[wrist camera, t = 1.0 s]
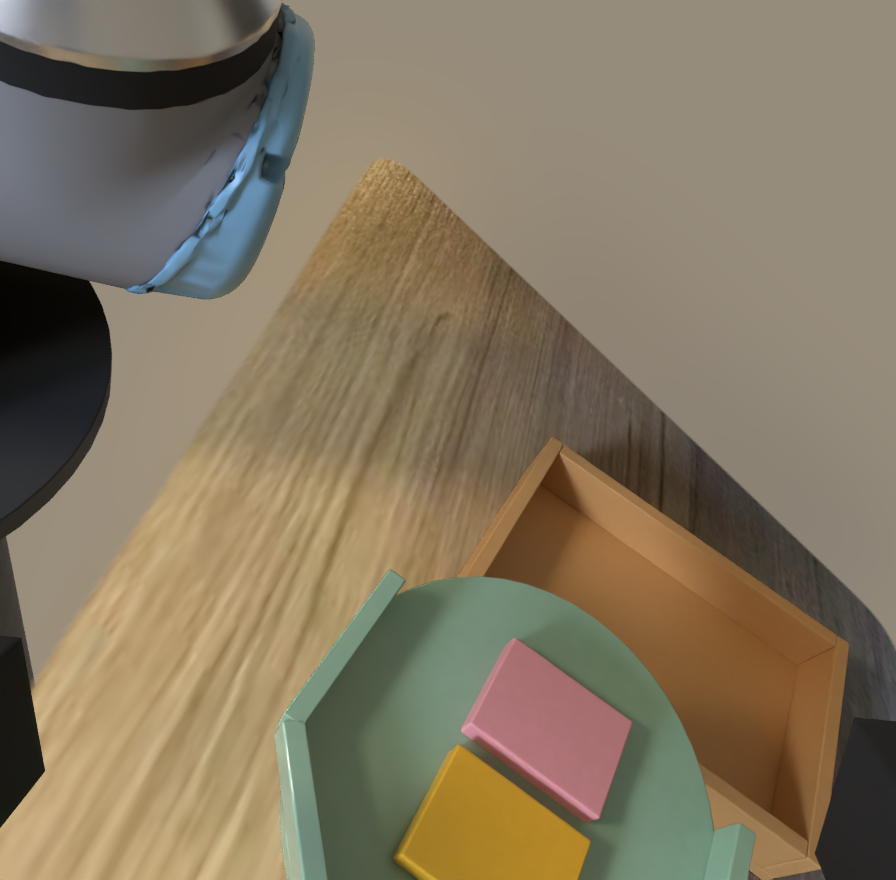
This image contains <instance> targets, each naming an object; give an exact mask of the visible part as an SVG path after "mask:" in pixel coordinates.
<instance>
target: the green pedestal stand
mask: <svg viewBox="0 0 896 880" xmlns="http://www.w3.org/2000/svg"><path fill="white" fill-rule="evenodd" d="M404 583H405V579H404V578H402V577H401V576H399V575H398V574H397V573H395V572H394V571H392V570H391V569H390V570H388V572H387V573H386V574H385V576H384V577H383V578H382V580H381V581H380V583H379V584H378V585H377V587H376V588H375V589H374V591H373V592H372V593H371V595H370V596H369V598H368V599H367V600H366V602H365V603H364V604H363V606H362V607H361V608H360V610H359V611H358V612H357V614H356V615H355V617H354V618H353V619H352V621H351V622H350V623H349V625H348V626H347V627H346V629H345V630H344V632H343V633H342V634H341V636H340V637H339V638H338V640H337V641H336V642H335V644H334V645H333V647H332V648H331V649H330V651H329V652H328V653H327V655H326V656H325V657H324V659H323V660H322V661H321V663H320V664H319V666H318V667H317V668H316V670H315V671H314V672H313V674H312V675H311V676H310V678H309V679H308V681H307V682H306V683H305V685H304V686H303V687H302V689H301V690H300V691H299V693H298V694H297V696H296V697H295V698H294V700H293V701H292V702H291V704H290V705H289V706H288V708H287V709H286V711H285V712H284V713H283V715H282V717H281V718H280V720H279V721H278V723H277V725H276V727H277V728H278V729H277V731H276V732H275V735H274V737H275V745H276V753H277V761H278V769H279V777H280V785H281V791H280V808H279V814H280V830H281V847H282V853H283V859H284V864H285V870H286V875H287V880H418V879H416V878H415V877H414V876H412V875H411V874H410V873H408V872H407V871H406V870H404V869H403V868H402V867H401V866H399V865H398V864H397V863H395V862H394V860H393V856H394V854H395V852H396V850H397V848H398V846H399V844H400V843H401V841H402V839H403V837H404V835H405V833H406V831H407V829H408V827H409V826H410V824H411V822H412V820H413V818H414V816H415V814H416V812H417V810H418V809H419V807H420V805H421V803H422V801H423V799H424V797H425V795H426V794H427V792H428V790H429V788H430V786H431V784H432V782H433V780H434V778H435V777H436V775H437V773H438V771H439V769H440V767H441V765H442V763H443V761H444V760H445V758H446V756H447V754H448V752H449V751H450V750H452V749H453V748H454V747H456V746H457V745H458V744H460V745H462V746H463V747H465V748H466V749H467V750H469V751H470V752H471V753H473V754H474V755H475V756H477V757H478V758H480V759H481V760H482V761H484V762H485V763H486V764H488V765H489V766H490V767H492V768H493V769H494V770H496V771H497V772H499V773H500V774H501V775H503V776H504V777H505V778H507V779H508V780H509V781H511V782H512V783H514V784H515V785H516V786H518V787H519V788H520V789H522V790H523V791H524V792H526V793H527V794H528V795H530V796H531V797H533V798H534V799H535V800H537V801H538V802H539V803H541V804H542V805H543V806H545V807H546V808H547V809H549V810H550V811H552V812H553V813H554V814H556V815H557V816H558V817H560V818H561V819H562V820H564V821H565V822H566V823H568V824H569V825H571V826H572V827H573V828H575V829H576V830H577V831H579V832H580V833H581V834H583V835H584V836H586V837H587V838H588V839H590V841H591V845H590V848H589V851H588V854H587V856H586V859H585V862H584V865H583V868H582V871H581V874H580V877H579V879H578V880H748V875H749V870H750V865H751V859H752V854H753V849H754V844H755V838H756V834H755V833H754V832H753V831H751V830H750V829H749V828H747V827H746V826H745V825H743V824H742V823H735V824H732V825H729V826H725V827H722V828H718V829H716V830H715V831H714V826H713V820H712V813H711V807H710V802H709V798H708V794H707V790H706V786H705V782H704V778H703V774H702V771H701V769H700V766H699V763H698V760H697V757H696V755H695V752H694V749H693V746H692V744H691V742H690V740H689V737H688V735H687V733H686V731H685V729H684V727H683V724H682V722H681V720H680V718H679V716H678V715H677V713H676V711H675V709H674V708H673V706H672V704H671V703H670V701H669V699H668V697H667V696H666V694H665V693H664V691H663V690H662V688H661V687H660V685H659V684H658V683H657V681H656V680H655V678H654V677H653V676H652V674H651V673H650V671H649V670H648V669H647V668H646V667H645V665H644V664H643V663H642V662H641V661H640V660H639V658H638V657H637V656H636V655H635V654H634V653H633V651H632V650H631V649H630V648H629V647H628V646H626V645H625V644H624V643H623V642H622V641H621V640H620V639H619V638H618V637H617V636H616V635H615V634H614V633H613V632H612V631H611V630H609V629H608V628H607V627H605V626H604V625H603V624H602V623H600V622H599V621H598V620H597V619H595V618H594V617H593V616H591V615H590V614H588V613H587V612H585V611H583V610H582V609H580V608H579V607H577V606H576V605H574V604H572V603H571V602H569V601H567V600H565V599H563V598H561V597H559V596H557V595H555V594H552V593H550V592H548V591H545V590H542V589H540V588H537V587H534V586H531V585H529V584H525V583H521V582H516V581H512V580H508V579H502V578H492V577H483V576H475V577H454V578H448V579H442V580H436V581H432V582H429V583H425V584H422V585H419V586H416V587H413V588H410V589H408V590H406V591H404V592H402V593H400V594H397V593H398V591H399V590H400V588H401V587H402V586H403V584H404ZM396 594H397V595H396ZM513 638H517V639H519V640H520V641H521V642H523V643H524V644H526V645H527V646H528V647H530V648H531V649H533V650H534V651H535V652H537V653H538V654H539V655H541V656H542V657H544V658H545V659H546V660H548V661H549V662H551V663H552V664H553V665H555V666H556V667H557V668H559V669H560V670H562V671H563V672H564V673H566V674H567V675H569V676H570V677H571V678H573V679H574V680H575V681H577V682H578V683H580V684H581V685H582V686H584V687H585V688H587V689H588V690H589V691H591V692H592V693H593V694H595V695H596V696H598V697H599V698H600V699H602V700H603V701H605V702H606V703H607V704H609V705H610V706H612V707H613V708H614V709H616V710H617V711H618V712H620V713H621V714H623V715H624V716H625V717H627V718H628V719H630V720H631V721H632V723H633V724H632V727H631V730H630V733H629V735H628V738H627V741H626V744H625V747H624V750H623V753H622V756H621V759H620V761H619V764H618V767H617V770H616V773H615V776H614V779H613V782H612V784H611V787H610V790H609V793H608V796H607V799H606V802H605V805H604V808H603V810H602V813H601V816H600V818H599V819H597V820H595V821H592V822H589V823H585V822H583V821H582V820H581V819H579V818H578V817H577V816H575V815H574V814H572V813H571V812H570V811H568V810H567V809H566V808H564V807H563V806H562V805H560V804H559V803H557V802H556V801H555V800H553V799H552V798H551V797H549V796H548V795H547V794H545V793H544V792H543V791H541V790H540V789H538V788H537V787H536V786H534V785H533V784H532V783H530V782H529V781H528V780H526V779H525V778H523V777H522V776H521V775H519V774H518V773H517V772H515V771H514V770H513V769H511V768H510V767H508V766H507V765H506V764H504V763H503V762H502V761H500V760H499V759H498V758H496V757H495V756H494V755H492V754H491V753H489V752H488V751H487V750H485V749H484V748H483V747H481V746H480V745H479V744H477V743H476V742H474V741H473V740H472V739H470V738H469V737H468V736H466V735H465V734H464V733H462V732H461V728H462V726H463V724H464V722H465V720H466V718H467V716H468V714H469V712H470V711H471V709H472V707H473V705H474V703H475V701H476V699H477V697H478V695H479V694H480V692H481V690H482V688H483V686H484V684H485V682H486V680H487V678H488V677H489V675H490V673H491V671H492V669H493V667H494V665H495V663H496V662H497V660H498V658H499V656H500V654H501V652H502V650H503V648H504V646H505V645H507V644H508V643H509V642H510V641H511V640H512V639H513Z"/></svg>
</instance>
